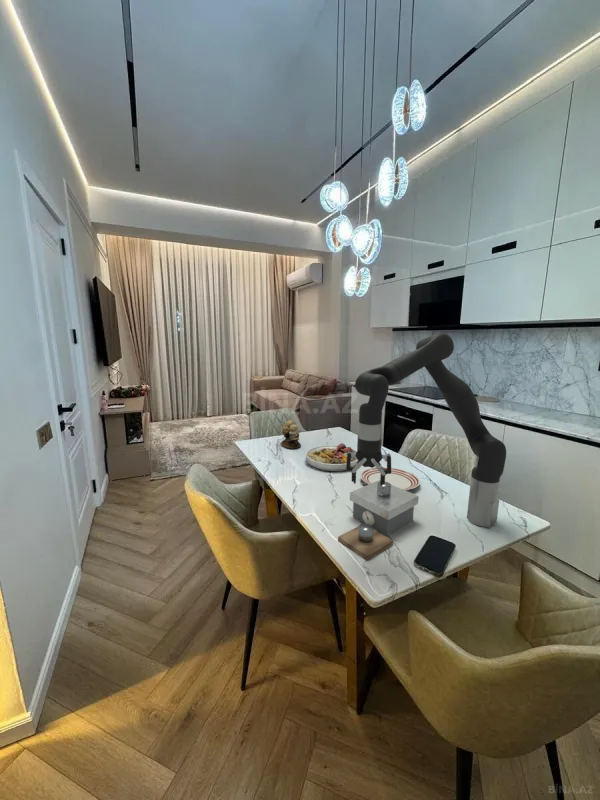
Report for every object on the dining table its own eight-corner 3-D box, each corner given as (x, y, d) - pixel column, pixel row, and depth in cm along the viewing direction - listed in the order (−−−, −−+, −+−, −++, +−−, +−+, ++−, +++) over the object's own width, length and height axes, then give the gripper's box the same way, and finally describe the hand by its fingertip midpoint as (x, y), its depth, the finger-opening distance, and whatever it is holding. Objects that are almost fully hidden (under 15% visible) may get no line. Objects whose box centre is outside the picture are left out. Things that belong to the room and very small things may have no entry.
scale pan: (417, 503, 124) (418, 496, 124) (388, 520, 113) (388, 511, 113) (379, 487, 138) (379, 479, 138) (349, 500, 127) (350, 492, 127)
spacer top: (376, 539, 111) (376, 528, 111) (366, 545, 108) (366, 533, 108) (365, 532, 115) (365, 522, 115) (355, 537, 112) (355, 527, 112)
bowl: (347, 478, 164) (348, 463, 162) (295, 466, 179) (295, 452, 177) (367, 459, 189) (368, 446, 188) (320, 450, 204) (320, 438, 203)
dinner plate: (370, 467, 177) (371, 462, 176) (424, 479, 163) (425, 472, 162) (351, 487, 153) (351, 481, 153) (412, 502, 140) (412, 495, 139)
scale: (412, 520, 126) (414, 500, 124) (384, 536, 115) (386, 515, 114) (379, 503, 138) (380, 486, 137) (351, 517, 128) (351, 498, 126)
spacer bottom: (393, 495, 124) (394, 485, 124) (384, 498, 122) (384, 488, 121) (383, 489, 129) (383, 480, 128) (374, 493, 126) (374, 483, 125)
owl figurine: (305, 448, 207) (305, 422, 203) (288, 451, 202) (288, 424, 198) (293, 440, 222) (293, 415, 219) (277, 443, 217) (276, 418, 214)
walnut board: (393, 544, 111) (393, 540, 111) (367, 560, 103) (367, 556, 103) (363, 527, 121) (363, 523, 121) (338, 540, 113) (338, 536, 113)
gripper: (392, 434, 107) (389, 480, 110) (347, 431, 110) (346, 477, 113) (393, 441, 100) (391, 490, 103) (346, 438, 103) (345, 486, 106)
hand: (367, 483), depth 108 cm, fingers open, 8 cm apart
